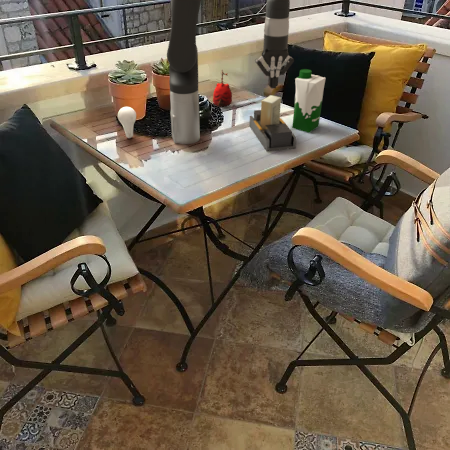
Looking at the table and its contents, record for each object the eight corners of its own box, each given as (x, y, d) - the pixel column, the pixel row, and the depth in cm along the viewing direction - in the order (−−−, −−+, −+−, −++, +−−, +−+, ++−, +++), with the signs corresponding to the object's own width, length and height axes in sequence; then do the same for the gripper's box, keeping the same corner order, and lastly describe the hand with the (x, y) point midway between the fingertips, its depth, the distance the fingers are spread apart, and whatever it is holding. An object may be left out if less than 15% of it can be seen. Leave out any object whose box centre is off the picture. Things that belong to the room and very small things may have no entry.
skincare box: (268, 128, 168) (270, 94, 161) (279, 131, 166) (281, 97, 159) (259, 134, 164) (260, 99, 157) (269, 137, 162) (272, 102, 155)
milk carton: (300, 120, 176) (306, 66, 165) (322, 126, 172) (329, 71, 160) (288, 128, 171) (293, 72, 159) (310, 134, 166) (317, 77, 155)
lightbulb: (142, 136, 165) (138, 105, 158) (132, 142, 160) (128, 111, 154) (127, 133, 167) (123, 102, 160) (117, 139, 162) (112, 108, 156)
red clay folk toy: (232, 102, 191) (233, 65, 183) (230, 109, 186) (231, 70, 177) (214, 102, 192) (213, 64, 184) (211, 108, 186) (211, 70, 178)
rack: (266, 151, 155) (267, 134, 152) (249, 126, 172) (249, 110, 168) (295, 148, 157) (297, 131, 154) (275, 124, 174) (276, 108, 170)
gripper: (259, 36, 142) (256, 93, 152) (300, 34, 144) (295, 90, 154) (252, 30, 148) (250, 85, 158) (292, 28, 150) (288, 82, 160)
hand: (272, 87), depth 156 cm, fingers closed
